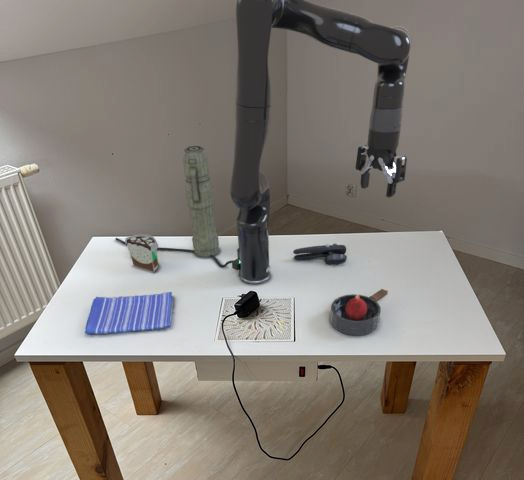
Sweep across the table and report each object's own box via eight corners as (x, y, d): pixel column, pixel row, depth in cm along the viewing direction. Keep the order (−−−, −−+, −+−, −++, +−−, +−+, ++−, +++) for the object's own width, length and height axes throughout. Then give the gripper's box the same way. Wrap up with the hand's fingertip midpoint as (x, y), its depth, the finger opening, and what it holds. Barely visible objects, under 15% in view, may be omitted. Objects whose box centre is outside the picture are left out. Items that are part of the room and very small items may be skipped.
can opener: (346, 256, 161) (347, 240, 157) (346, 266, 156) (347, 250, 152) (294, 254, 163) (294, 239, 160) (292, 264, 158) (292, 248, 154)
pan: (320, 322, 132) (321, 308, 129) (350, 303, 139) (351, 289, 136) (358, 343, 125) (360, 328, 121) (388, 321, 131) (390, 307, 128)
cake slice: (169, 265, 161) (165, 238, 154) (157, 274, 157) (152, 246, 150) (143, 257, 166) (137, 230, 160) (130, 265, 162) (124, 238, 156)
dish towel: (95, 303, 145) (92, 295, 143) (173, 296, 146) (172, 288, 144) (84, 337, 131) (81, 329, 129) (170, 329, 132) (169, 321, 131)
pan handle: (372, 305, 133) (373, 300, 132) (366, 302, 134) (367, 297, 133) (387, 295, 136) (388, 290, 135) (381, 293, 138) (382, 287, 136)
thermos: (193, 261, 162) (177, 155, 140) (195, 245, 172) (181, 143, 149) (219, 259, 163) (207, 153, 140) (220, 243, 172) (209, 141, 150)
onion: (365, 327, 129) (368, 302, 124) (343, 325, 130) (345, 301, 125) (365, 315, 133) (368, 290, 128) (345, 313, 134) (347, 289, 129)
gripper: (352, 124, 118) (347, 188, 128) (398, 135, 109) (389, 203, 120) (372, 118, 122) (366, 181, 132) (419, 128, 113) (408, 195, 123)
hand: (377, 192), depth 126 cm, fingers open, 8 cm apart
